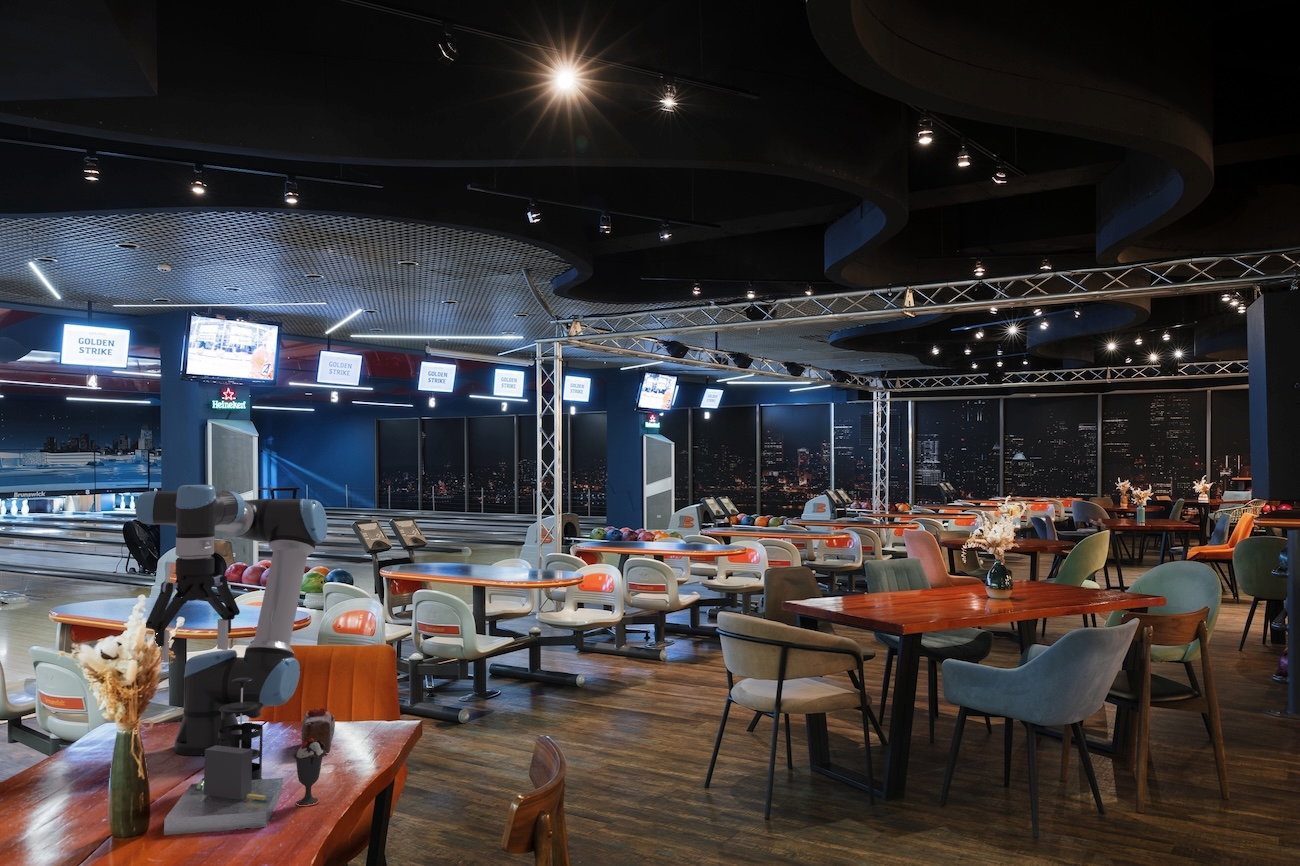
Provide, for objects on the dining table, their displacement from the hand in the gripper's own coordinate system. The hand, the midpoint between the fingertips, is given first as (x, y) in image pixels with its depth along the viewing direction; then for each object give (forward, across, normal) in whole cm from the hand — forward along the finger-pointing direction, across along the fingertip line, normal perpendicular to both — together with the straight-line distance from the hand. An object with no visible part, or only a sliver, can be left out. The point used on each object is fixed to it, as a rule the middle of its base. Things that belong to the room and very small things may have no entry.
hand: (193, 655), depth 197 cm
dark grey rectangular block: (+25, -3, -20) cm, 32 cm away
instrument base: (+29, -4, -18) cm, 34 cm away
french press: (+29, +8, -4) cm, 31 cm away
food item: (+30, +35, +2) cm, 46 cm away
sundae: (+29, +8, -27) cm, 41 cm away
